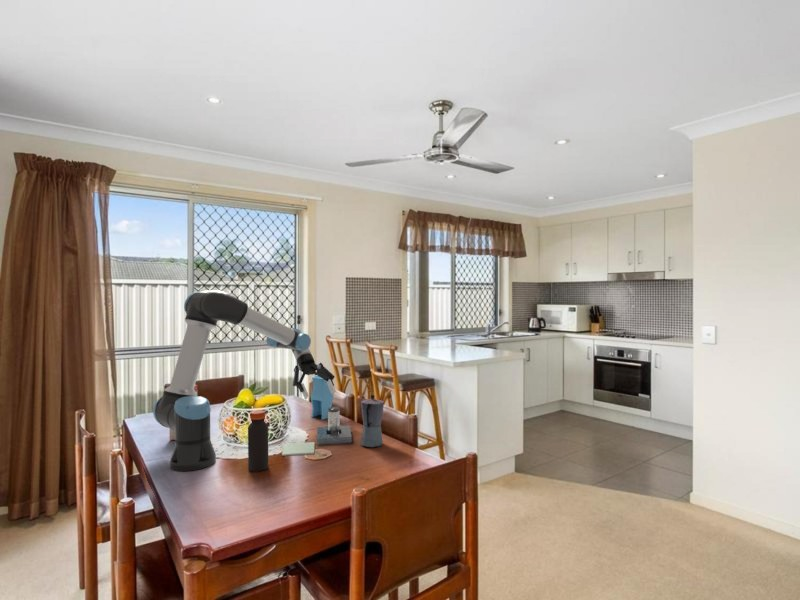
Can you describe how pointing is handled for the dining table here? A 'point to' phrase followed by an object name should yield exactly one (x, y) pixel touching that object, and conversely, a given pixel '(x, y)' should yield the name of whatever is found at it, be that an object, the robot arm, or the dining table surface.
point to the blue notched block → (320, 397)
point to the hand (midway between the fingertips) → (320, 395)
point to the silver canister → (333, 420)
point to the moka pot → (372, 422)
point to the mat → (298, 448)
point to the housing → (333, 436)
